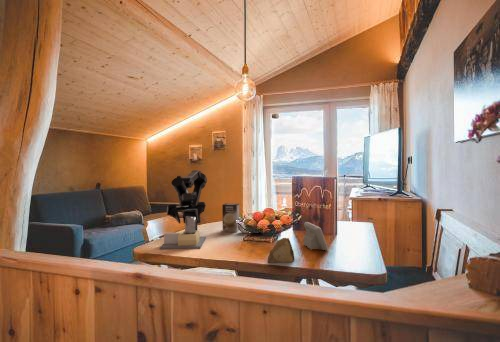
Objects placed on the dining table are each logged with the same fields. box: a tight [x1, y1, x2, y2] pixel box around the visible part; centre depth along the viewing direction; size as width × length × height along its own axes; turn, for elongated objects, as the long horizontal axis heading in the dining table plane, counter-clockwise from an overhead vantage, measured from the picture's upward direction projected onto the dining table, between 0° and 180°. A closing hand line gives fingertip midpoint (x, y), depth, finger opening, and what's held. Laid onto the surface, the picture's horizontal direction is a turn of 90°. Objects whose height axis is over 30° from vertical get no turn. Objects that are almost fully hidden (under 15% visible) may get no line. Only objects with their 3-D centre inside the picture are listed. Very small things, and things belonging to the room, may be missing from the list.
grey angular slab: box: [303, 221, 329, 252], centre depth 133 cm, size 16×9×11 cm, turn 0°
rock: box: [267, 237, 296, 263], centre depth 114 cm, size 11×9×10 cm
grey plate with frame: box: [159, 230, 207, 250], centre depth 142 cm, size 19×19×6 cm
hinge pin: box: [184, 216, 197, 234], centre depth 139 cm, size 5×5×12 cm
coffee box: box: [222, 202, 240, 233], centre depth 168 cm, size 9×6×16 cm
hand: (189, 222), depth 138 cm, fingers open, 9 cm apart
